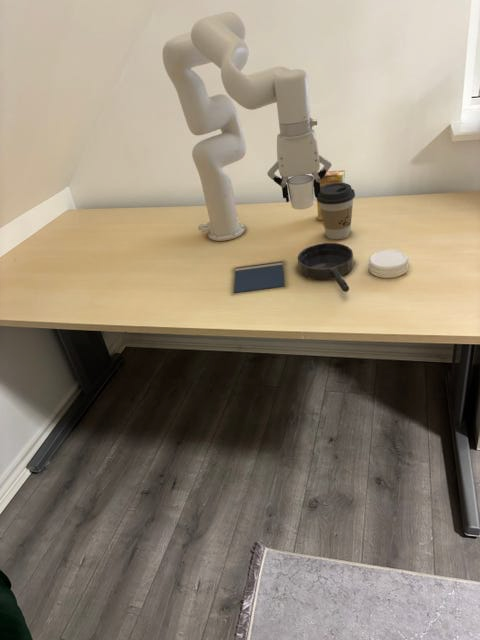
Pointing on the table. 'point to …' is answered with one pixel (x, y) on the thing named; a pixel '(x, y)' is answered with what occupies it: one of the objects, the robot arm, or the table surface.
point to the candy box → (328, 179)
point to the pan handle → (339, 279)
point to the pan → (325, 260)
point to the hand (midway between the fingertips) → (301, 197)
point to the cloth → (259, 277)
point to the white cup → (301, 191)
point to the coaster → (388, 263)
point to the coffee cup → (336, 209)
